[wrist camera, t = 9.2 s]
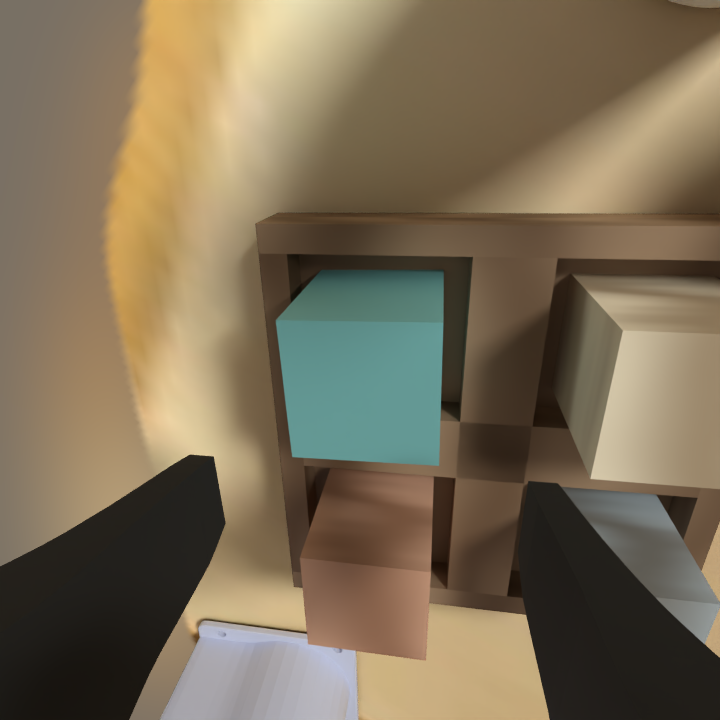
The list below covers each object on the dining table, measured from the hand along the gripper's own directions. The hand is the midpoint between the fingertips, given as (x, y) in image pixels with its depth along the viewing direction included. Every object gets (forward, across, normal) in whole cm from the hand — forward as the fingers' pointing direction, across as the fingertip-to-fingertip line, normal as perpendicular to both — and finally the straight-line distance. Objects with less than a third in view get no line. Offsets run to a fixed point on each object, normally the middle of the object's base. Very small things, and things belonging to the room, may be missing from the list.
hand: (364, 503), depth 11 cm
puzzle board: (+10, -4, +3) cm, 11 cm away
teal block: (+9, +1, -1) cm, 9 cm away
